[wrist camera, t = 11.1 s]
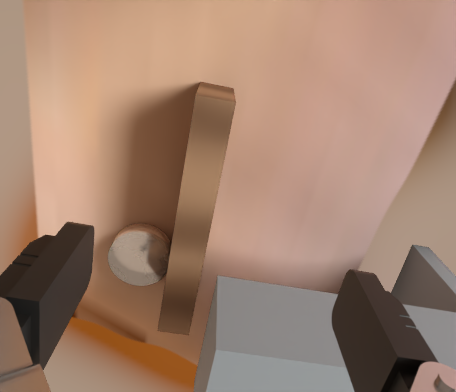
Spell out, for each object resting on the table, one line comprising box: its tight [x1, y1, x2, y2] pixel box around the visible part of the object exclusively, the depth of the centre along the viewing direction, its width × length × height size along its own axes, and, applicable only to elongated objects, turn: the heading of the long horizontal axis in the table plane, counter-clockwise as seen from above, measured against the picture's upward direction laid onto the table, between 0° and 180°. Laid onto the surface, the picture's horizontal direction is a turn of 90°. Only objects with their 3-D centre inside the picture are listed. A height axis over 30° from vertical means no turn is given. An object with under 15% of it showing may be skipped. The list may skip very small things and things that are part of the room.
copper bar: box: [158, 82, 236, 335], centre depth 29 cm, size 18×2×6 cm, turn 169°
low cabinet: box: [194, 245, 456, 392], centre depth 28 cm, size 10×18×15 cm, turn 79°
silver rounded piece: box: [108, 224, 171, 286], centre depth 33 cm, size 5×5×2 cm
